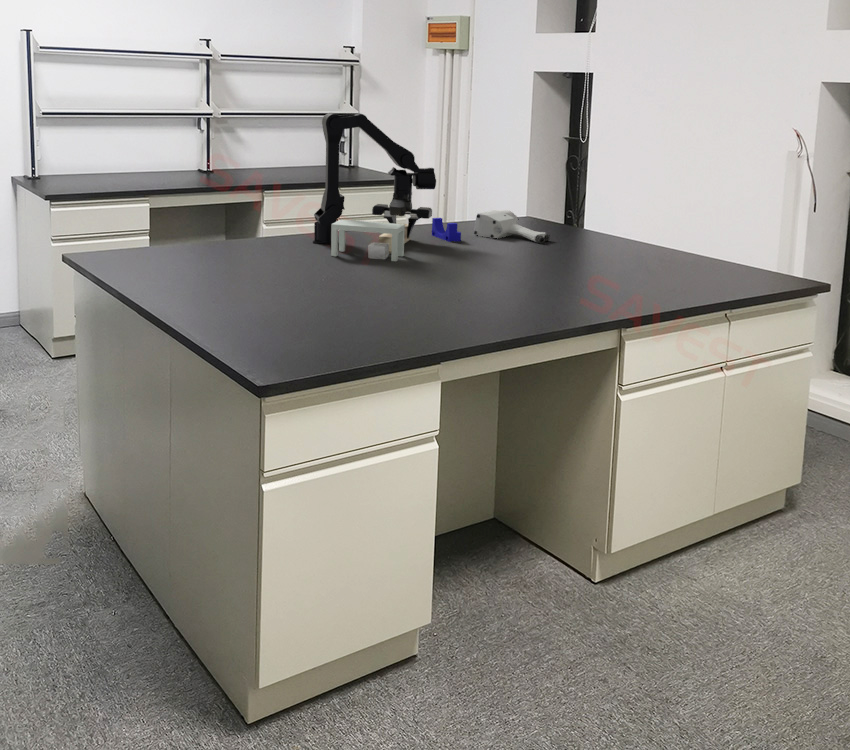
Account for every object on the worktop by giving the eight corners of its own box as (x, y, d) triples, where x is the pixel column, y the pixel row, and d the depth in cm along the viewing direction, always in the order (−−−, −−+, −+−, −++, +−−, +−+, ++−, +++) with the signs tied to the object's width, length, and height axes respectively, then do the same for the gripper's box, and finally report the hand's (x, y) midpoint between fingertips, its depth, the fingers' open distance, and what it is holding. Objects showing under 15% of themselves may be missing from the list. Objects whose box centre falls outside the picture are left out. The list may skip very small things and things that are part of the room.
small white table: (331, 255, 294) (331, 224, 291) (340, 250, 303) (340, 219, 300) (396, 261, 290) (397, 229, 287) (403, 255, 299) (404, 224, 296)
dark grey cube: (368, 258, 294) (368, 245, 292) (372, 255, 298) (372, 242, 297) (384, 259, 293) (384, 246, 291) (388, 256, 297) (388, 243, 296)
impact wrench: (570, 229, 339) (509, 204, 350) (539, 238, 321) (476, 211, 332) (563, 251, 343) (503, 225, 354) (532, 261, 325) (470, 233, 336)
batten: (378, 252, 302) (378, 236, 300) (398, 238, 325) (398, 223, 324) (391, 253, 301) (391, 237, 300) (409, 239, 324) (410, 224, 323)
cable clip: (460, 241, 325) (461, 223, 323) (448, 242, 323) (449, 224, 321) (443, 235, 335) (444, 217, 333) (431, 235, 333) (432, 218, 331)
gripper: (367, 190, 311) (367, 239, 316) (425, 194, 307) (424, 244, 312) (377, 186, 321) (376, 234, 326) (433, 190, 317) (431, 238, 322)
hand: (401, 237), depth 321 cm, fingers closed on batten, 4 cm apart
